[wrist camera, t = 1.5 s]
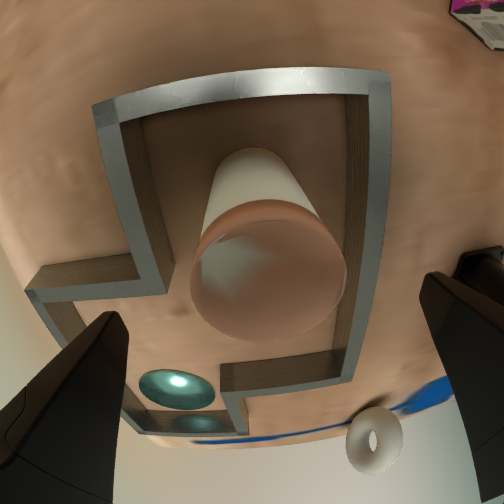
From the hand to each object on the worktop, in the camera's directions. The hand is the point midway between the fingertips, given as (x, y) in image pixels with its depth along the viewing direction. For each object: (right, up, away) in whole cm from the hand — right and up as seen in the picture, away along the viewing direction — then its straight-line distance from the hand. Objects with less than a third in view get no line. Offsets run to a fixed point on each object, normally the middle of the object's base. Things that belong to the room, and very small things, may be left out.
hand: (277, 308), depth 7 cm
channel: (-5, -4, +14) cm, 15 cm away
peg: (-1, +5, +8) cm, 10 cm away
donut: (+15, -20, +25) cm, 35 cm away
